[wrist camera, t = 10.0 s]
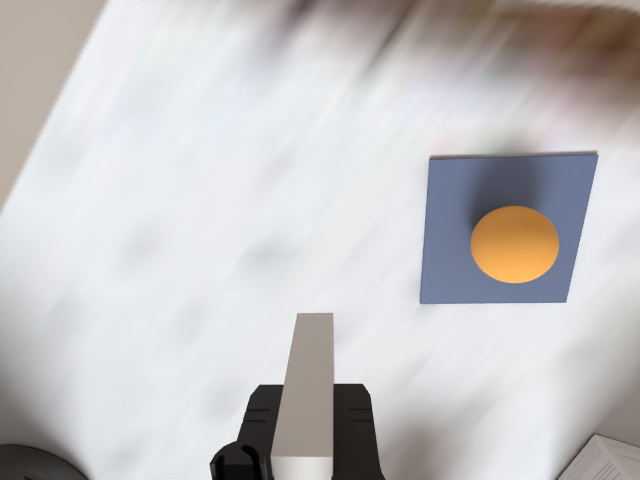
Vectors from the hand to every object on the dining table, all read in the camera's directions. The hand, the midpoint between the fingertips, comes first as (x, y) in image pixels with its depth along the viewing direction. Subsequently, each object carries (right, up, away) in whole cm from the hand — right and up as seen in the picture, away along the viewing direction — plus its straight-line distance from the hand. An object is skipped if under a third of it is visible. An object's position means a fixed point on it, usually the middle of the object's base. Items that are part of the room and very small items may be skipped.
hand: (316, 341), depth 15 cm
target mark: (+14, +5, +13) cm, 20 cm away
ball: (+14, +4, +10) cm, 18 cm away
